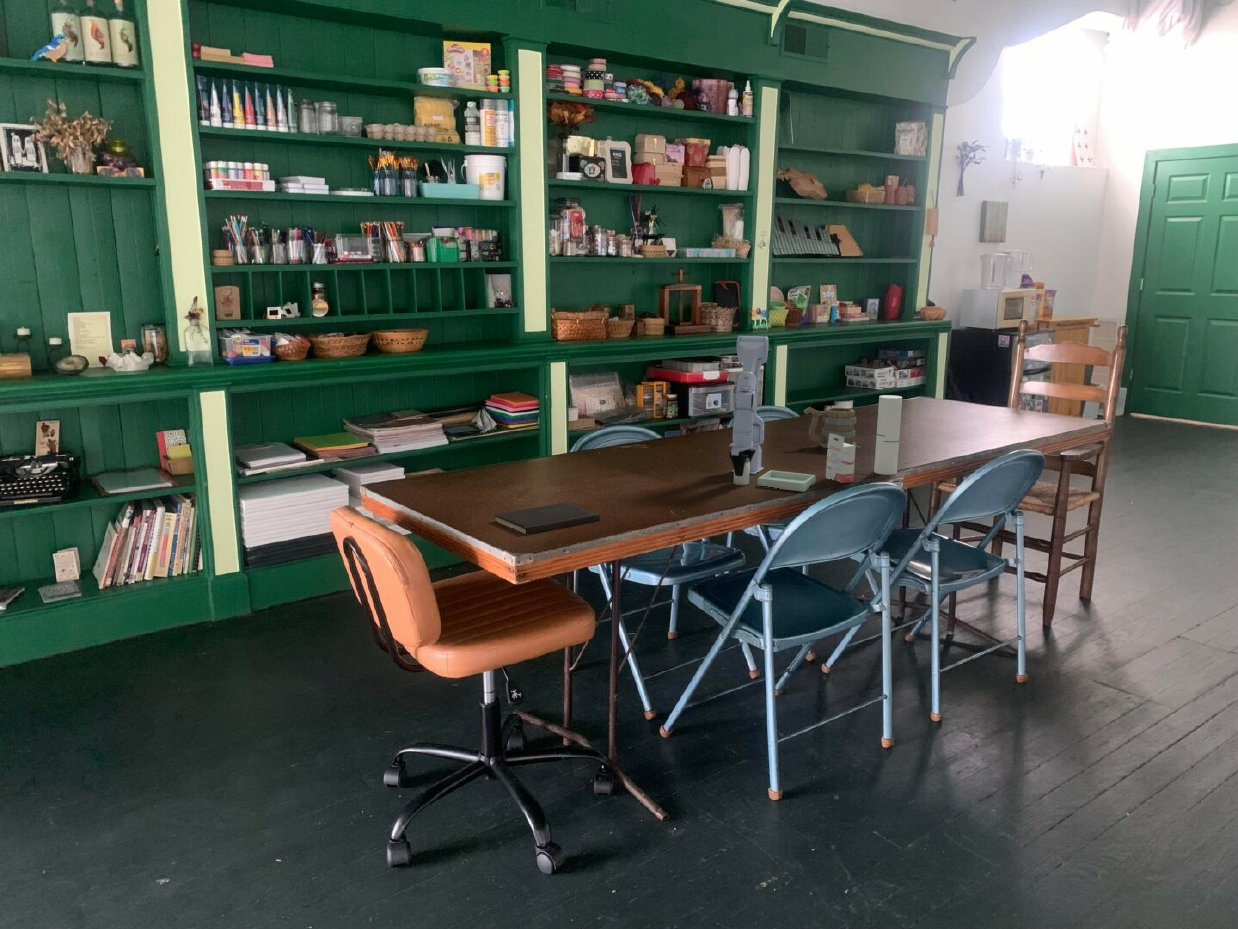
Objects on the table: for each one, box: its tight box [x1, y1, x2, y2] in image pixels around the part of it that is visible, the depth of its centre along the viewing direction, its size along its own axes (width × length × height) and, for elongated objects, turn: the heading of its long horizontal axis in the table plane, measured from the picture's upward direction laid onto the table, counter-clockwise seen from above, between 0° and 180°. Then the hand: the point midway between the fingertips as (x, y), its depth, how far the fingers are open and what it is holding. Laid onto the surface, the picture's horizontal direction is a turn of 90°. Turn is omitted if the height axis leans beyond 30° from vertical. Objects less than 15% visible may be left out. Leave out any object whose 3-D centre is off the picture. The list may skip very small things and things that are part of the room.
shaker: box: [733, 457, 750, 486], centre depth 290 cm, size 5×5×8 cm
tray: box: [757, 470, 817, 493], centre depth 289 cm, size 13×15×2 cm
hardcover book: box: [493, 501, 601, 535], centre depth 248 cm, size 16×23×2 cm
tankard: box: [803, 406, 858, 449], centre depth 347 cm, size 20×13×15 cm, turn 92°
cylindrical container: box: [873, 394, 903, 476], centre depth 305 cm, size 7×7×25 cm
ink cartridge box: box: [825, 433, 856, 484], centre depth 295 cm, size 9×5×15 cm, turn 23°
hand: (741, 474), depth 290 cm, fingers closed on shaker, 5 cm apart
